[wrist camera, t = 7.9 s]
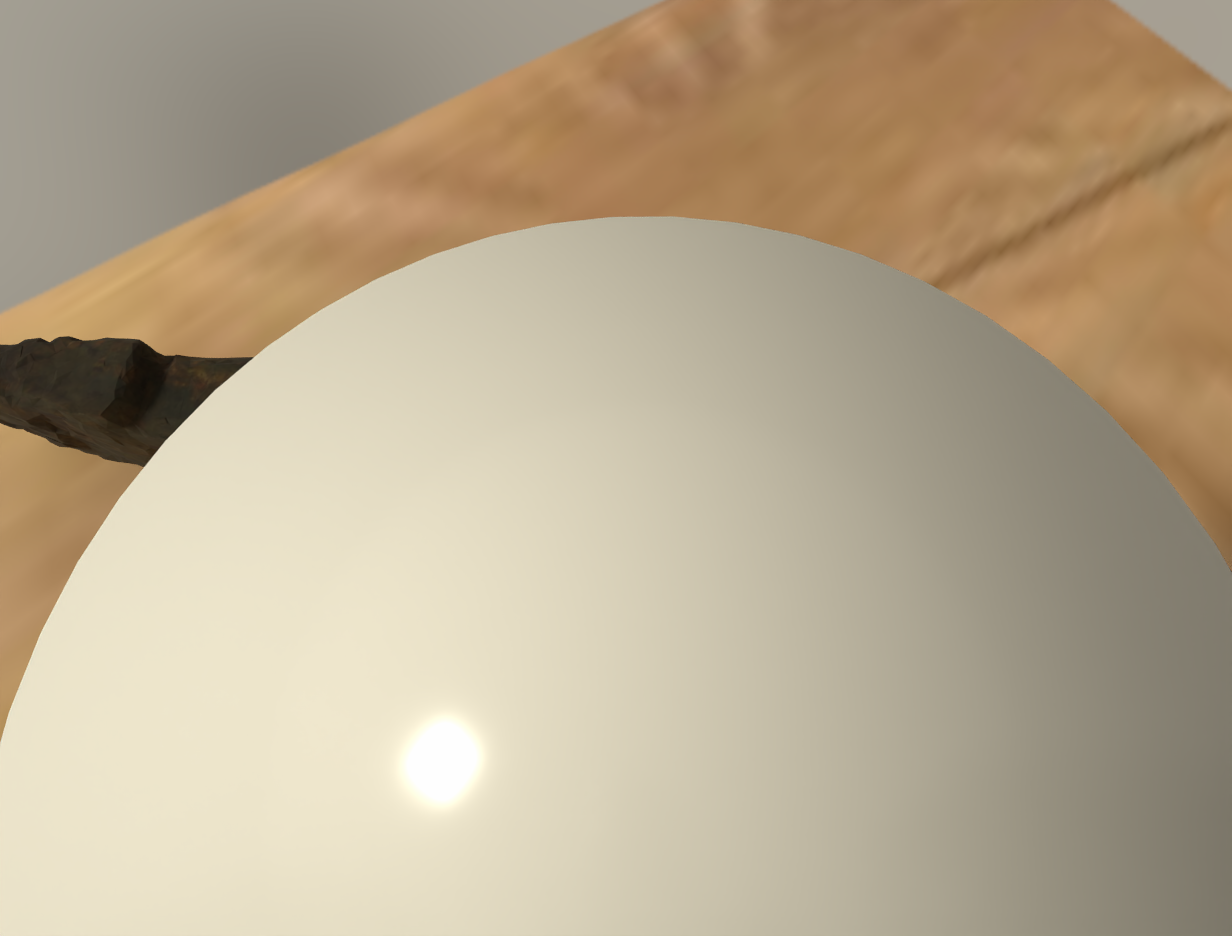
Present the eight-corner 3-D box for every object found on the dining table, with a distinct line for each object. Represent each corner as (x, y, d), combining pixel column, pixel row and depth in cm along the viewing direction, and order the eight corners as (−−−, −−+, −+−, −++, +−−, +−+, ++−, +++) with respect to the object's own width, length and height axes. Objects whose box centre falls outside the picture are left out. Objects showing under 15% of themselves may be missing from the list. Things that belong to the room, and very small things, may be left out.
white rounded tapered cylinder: (853, 788, 14) (1699, 874, 2) (645, 974, 13) (328, 2660, 1) (686, 585, 16) (693, 80, 4) (495, 734, 15) (-156, 604, 3)
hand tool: (635, 401, 21) (623, 309, 17) (620, 523, 20) (602, 456, 16) (93, 366, 24) (-35, 279, 20) (41, 472, 22) (-109, 402, 18)
